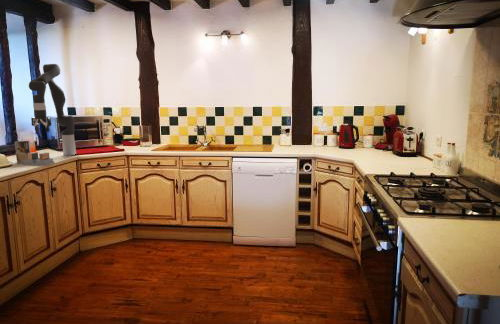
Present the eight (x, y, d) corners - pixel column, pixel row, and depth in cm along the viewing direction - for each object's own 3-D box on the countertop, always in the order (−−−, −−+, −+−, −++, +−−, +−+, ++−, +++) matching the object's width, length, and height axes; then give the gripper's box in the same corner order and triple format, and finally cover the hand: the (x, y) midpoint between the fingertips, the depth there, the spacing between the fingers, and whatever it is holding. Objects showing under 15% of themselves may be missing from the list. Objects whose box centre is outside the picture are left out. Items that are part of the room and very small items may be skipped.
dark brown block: (49, 161, 273) (49, 152, 272) (44, 163, 268) (43, 153, 266) (45, 161, 274) (44, 152, 273) (39, 163, 268) (38, 153, 267)
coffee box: (32, 161, 281) (30, 140, 278) (30, 162, 275) (28, 141, 272) (18, 162, 277) (15, 140, 275) (16, 163, 272) (14, 141, 269)
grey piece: (34, 162, 278) (33, 151, 277) (54, 162, 275) (53, 152, 274) (23, 164, 268) (22, 153, 266) (43, 165, 265) (42, 154, 263)
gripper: (52, 109, 268) (54, 131, 271) (35, 109, 270) (37, 131, 273) (45, 109, 261) (47, 132, 264) (27, 109, 263) (29, 132, 266)
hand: (42, 131), depth 268 cm, fingers open, 8 cm apart
